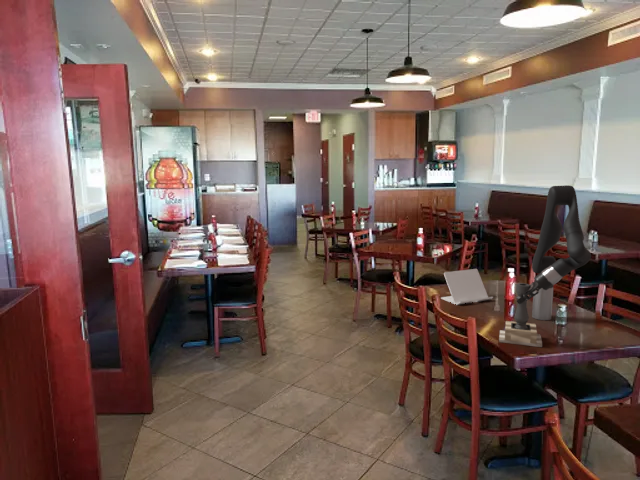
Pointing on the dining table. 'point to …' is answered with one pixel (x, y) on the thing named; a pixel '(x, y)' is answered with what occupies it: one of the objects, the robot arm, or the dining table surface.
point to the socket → (520, 335)
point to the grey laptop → (465, 287)
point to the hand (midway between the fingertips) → (518, 300)
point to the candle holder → (521, 307)
